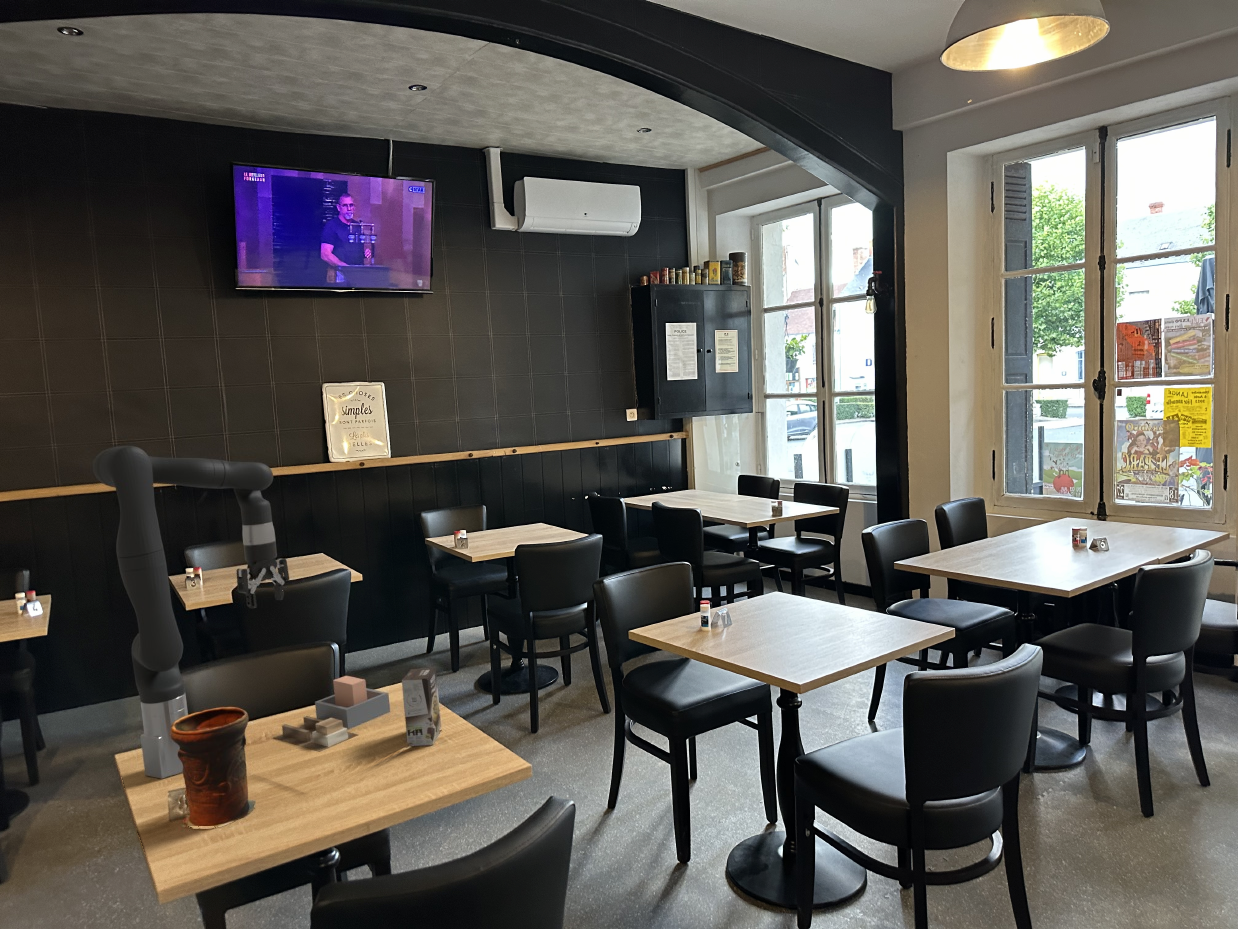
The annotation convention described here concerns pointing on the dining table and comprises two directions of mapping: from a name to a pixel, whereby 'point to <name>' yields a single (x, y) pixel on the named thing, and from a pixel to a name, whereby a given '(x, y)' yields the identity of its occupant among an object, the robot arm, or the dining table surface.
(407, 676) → the coffee box
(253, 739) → the dining table surface
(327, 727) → the upper offcut
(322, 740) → the block
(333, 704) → the charcoal bin
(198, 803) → the vessel
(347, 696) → the salmon pink block
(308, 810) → the dining table surface
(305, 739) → the walnut rack
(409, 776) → the dining table surface
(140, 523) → the robot arm
